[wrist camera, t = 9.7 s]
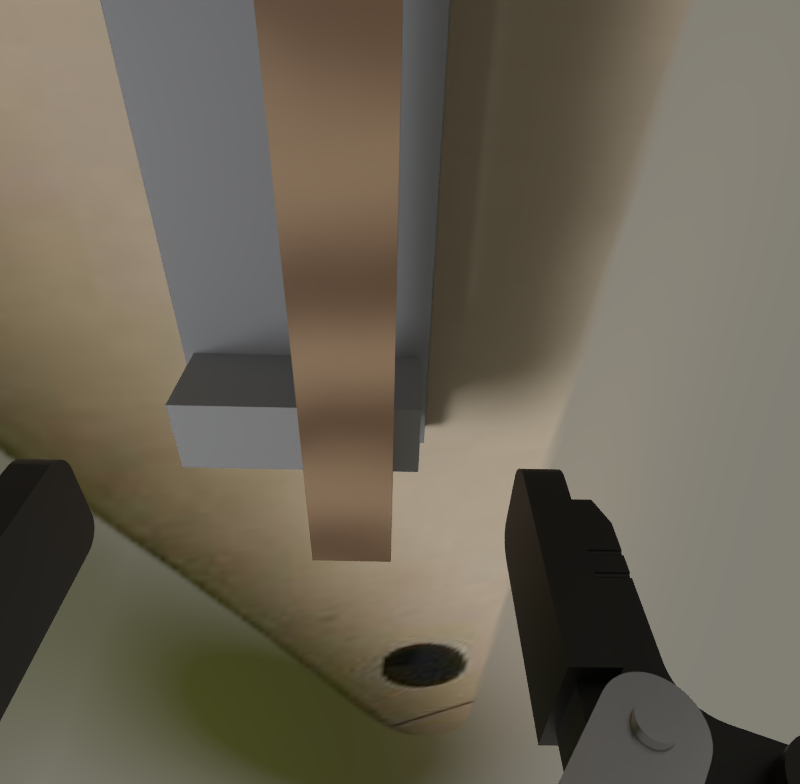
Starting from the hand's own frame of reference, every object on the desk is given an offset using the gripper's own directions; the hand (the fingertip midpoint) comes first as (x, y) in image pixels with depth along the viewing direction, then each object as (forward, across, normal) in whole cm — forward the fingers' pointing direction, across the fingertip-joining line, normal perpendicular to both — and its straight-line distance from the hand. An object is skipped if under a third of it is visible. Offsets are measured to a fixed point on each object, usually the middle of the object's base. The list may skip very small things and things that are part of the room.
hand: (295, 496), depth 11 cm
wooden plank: (+14, 0, 0) cm, 14 cm away
